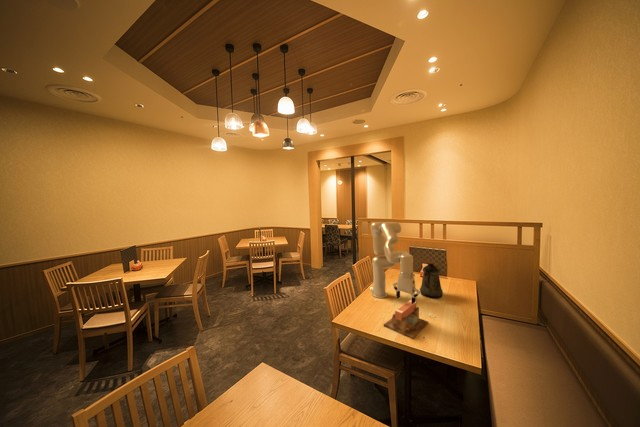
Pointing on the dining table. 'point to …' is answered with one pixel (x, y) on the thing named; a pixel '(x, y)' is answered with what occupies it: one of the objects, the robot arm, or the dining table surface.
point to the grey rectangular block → (412, 320)
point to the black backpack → (431, 282)
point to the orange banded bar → (405, 310)
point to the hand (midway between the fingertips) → (405, 300)
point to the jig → (406, 325)
